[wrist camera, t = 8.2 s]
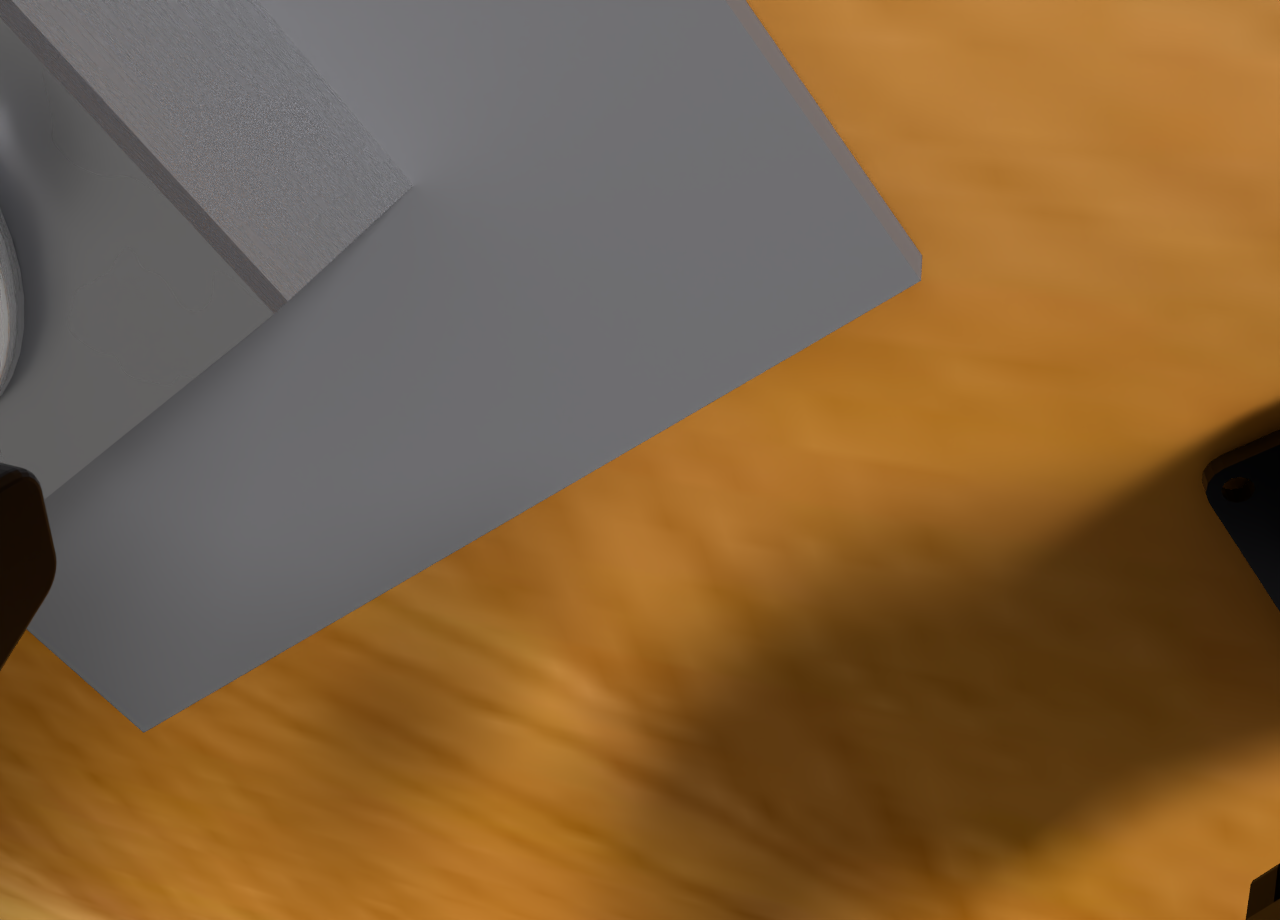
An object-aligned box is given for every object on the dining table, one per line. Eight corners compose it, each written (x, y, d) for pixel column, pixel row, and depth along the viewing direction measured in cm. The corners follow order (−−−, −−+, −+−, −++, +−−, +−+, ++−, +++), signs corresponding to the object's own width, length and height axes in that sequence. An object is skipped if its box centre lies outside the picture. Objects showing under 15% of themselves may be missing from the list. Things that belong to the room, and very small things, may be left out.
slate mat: (922, 255, 20) (921, 280, 19) (165, 704, 30) (143, 732, 29) (-175, -1329, 13) (-252, -1401, 12) (-657, -37, 23) (-715, -26, 23)
